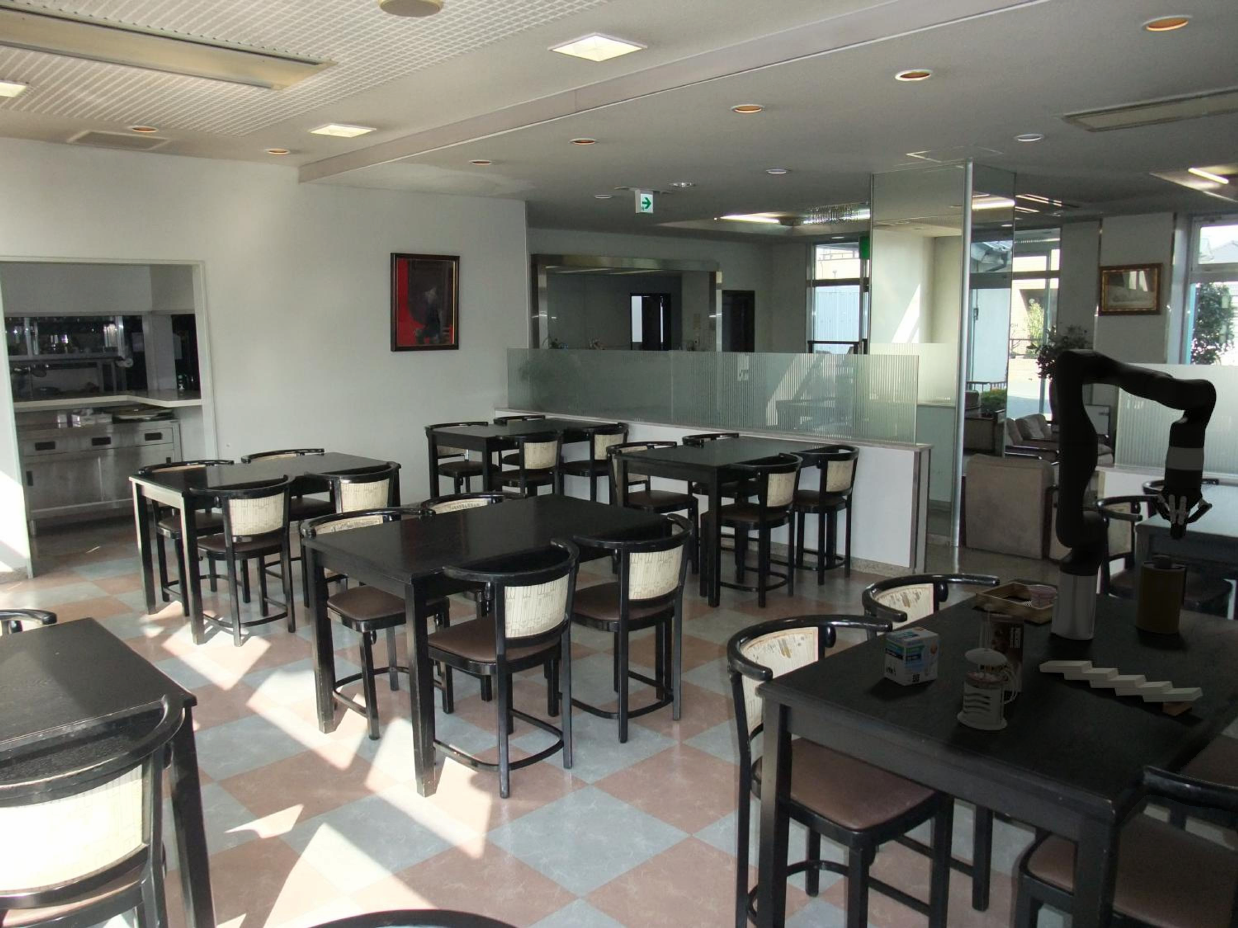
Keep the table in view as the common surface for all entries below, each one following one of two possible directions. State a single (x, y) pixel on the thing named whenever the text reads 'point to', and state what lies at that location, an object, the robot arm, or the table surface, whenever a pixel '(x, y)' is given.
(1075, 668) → the domino
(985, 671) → the french press
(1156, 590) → the canister
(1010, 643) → the coffee box
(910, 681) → the light bulb box
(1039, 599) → the teacup
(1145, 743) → the table surface
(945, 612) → the table surface
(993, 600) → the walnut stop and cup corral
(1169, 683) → the domino
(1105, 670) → the domino
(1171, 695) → the sage domino
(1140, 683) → the domino
